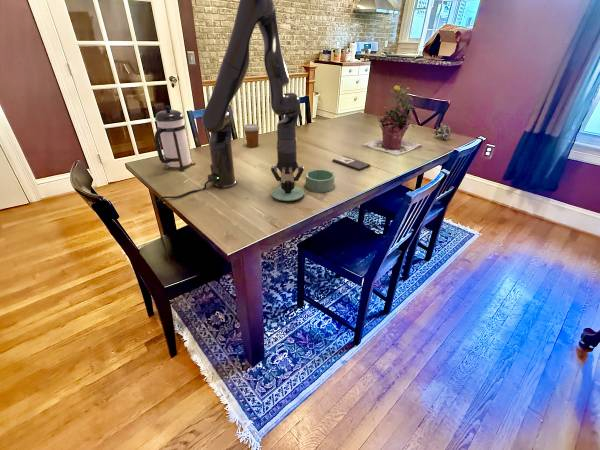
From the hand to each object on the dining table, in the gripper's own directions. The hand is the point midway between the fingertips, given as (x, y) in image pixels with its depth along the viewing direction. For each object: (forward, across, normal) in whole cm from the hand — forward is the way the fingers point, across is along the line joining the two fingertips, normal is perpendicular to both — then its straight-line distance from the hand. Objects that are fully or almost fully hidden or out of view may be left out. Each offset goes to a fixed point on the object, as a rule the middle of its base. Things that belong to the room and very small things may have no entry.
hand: (287, 189), depth 127 cm
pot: (+3, -14, -10) cm, 17 cm away
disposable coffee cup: (+3, +24, -69) cm, 73 cm away
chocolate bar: (+3, -32, -38) cm, 50 cm away
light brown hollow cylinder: (+3, +1, -13) cm, 13 cm away
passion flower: (+4, -98, -85) cm, 130 cm away
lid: (+2, 0, 0) cm, 2 cm away
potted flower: (+3, -62, -69) cm, 93 cm away
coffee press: (+3, +57, -32) cm, 66 cm away
